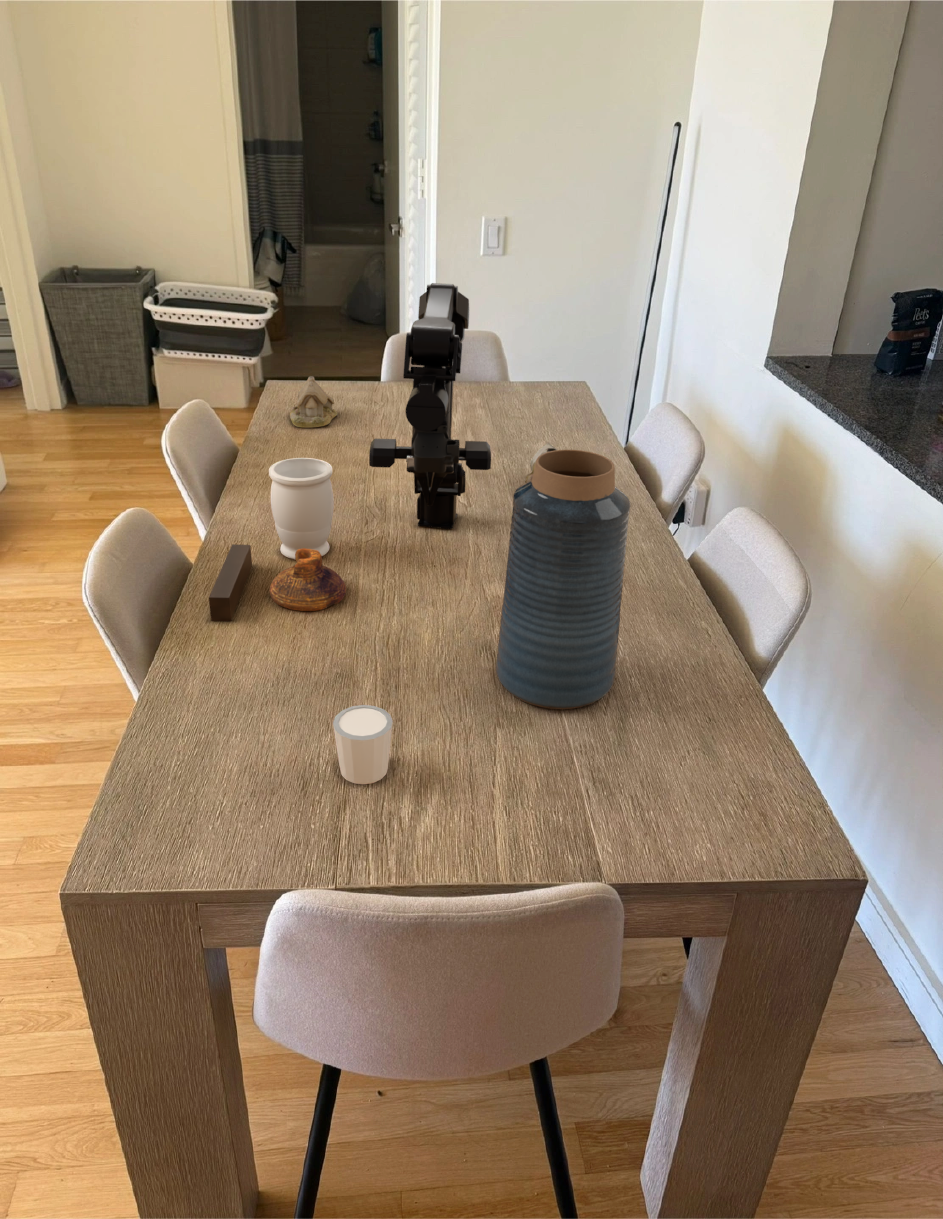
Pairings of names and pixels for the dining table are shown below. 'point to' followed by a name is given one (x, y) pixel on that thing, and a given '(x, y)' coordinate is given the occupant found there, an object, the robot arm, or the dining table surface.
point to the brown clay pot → (307, 584)
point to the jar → (302, 504)
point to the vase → (564, 582)
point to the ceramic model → (312, 406)
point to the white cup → (363, 743)
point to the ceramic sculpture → (542, 450)
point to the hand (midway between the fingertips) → (429, 504)
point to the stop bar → (230, 583)
